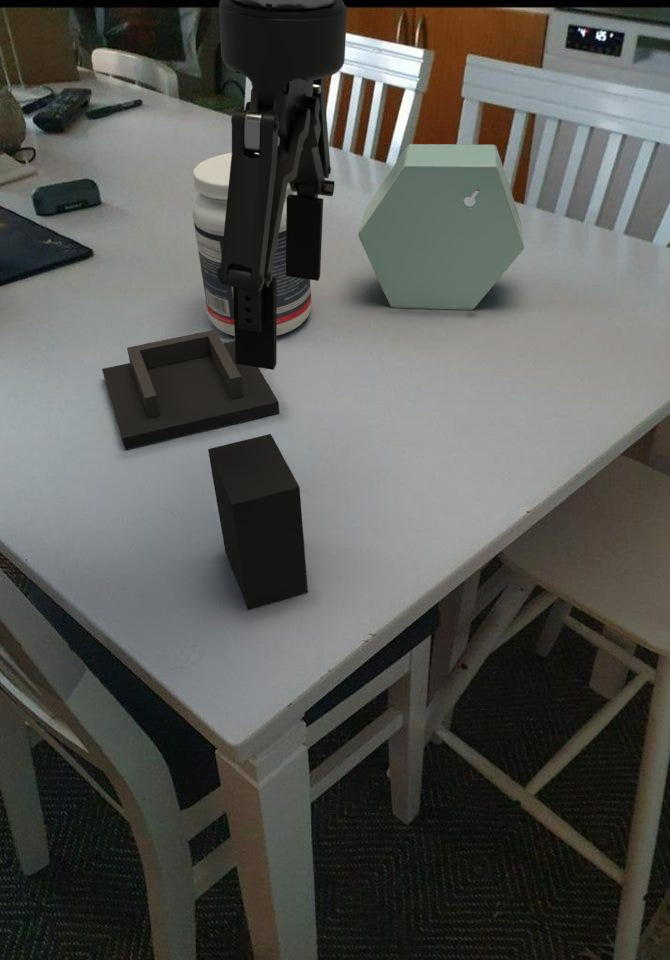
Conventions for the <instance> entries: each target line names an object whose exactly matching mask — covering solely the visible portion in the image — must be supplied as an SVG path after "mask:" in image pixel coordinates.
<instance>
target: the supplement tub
mask: <svg viewBox="0 0 670 960" xmlns="http://www.w3.org/2000/svg"><path fill="white" fill-rule="evenodd" d="M255 154H259V153H255ZM231 156H232V152H229V153H224V154H220V155H216V156H215V155H214V156H213V157H209V158H207V159H205V160H203V161H201V162H199V164H197V165H196V166H195V167H194V168H193V171H192V173H193V188H194V191H196V193H198V194H197V195H196V197H195V199H194V201H193V204H192V208H191V209H192V210H191V211H192V213H191V215H192V216H191V217H192V221H193V226H194V233H195V239H196V245H197V251H198V257H199V264H200V272H201V278H202V284H203V285H202V286H203V290H204V297H205V303H206V304H205V305H206V312H207V313H206V314H207V316H208V318H209V320H210V322H211V323H212V324H213V326H214V327H215V328H216V329H217V330H219V331H221V332H222V333H224V334H227V335H228V336H229V335H230V336H233V337H235V328H234V301H233V287H231V286H225V285H221V284H220V281H219V279H218V275H217V271H218V268H221V258H222V247H223V237H224V227H225V217H226V207H227V197H228V187H229V177H230V166H231ZM289 194H292V195H297V192H294V191H291V187H290V184H289V183H288V185H287V189H286V195H285V201H284V207H283V212H282V218H281V224H280V230H279V236H278V241H277V247H276V253H275V259H274V264H273V270H272V277H273V278H277V336H281V335H284V334H286V333H289V332H292V331H293V330H295V329H296V328H297V329H298V328H299V326H301V325H302V324H303V323H304V322H305V321H306V320H307V318H308V317H309V316H310V313H311V310H312V305H313V302H312V290H311V287H312V286H311V280H309V279H302V278H296V277H289V276H286V214H287V197H288V195H289Z"/></svg>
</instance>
